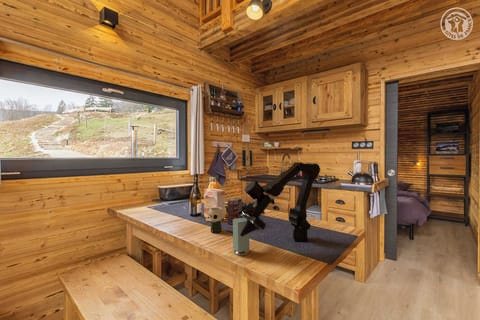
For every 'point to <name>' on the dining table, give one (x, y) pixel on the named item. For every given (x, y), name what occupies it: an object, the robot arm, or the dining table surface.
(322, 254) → the dining table surface
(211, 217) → the cream head figurine
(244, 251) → the post
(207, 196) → the coffeecake box
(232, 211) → the supplement box
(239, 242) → the sage green block
